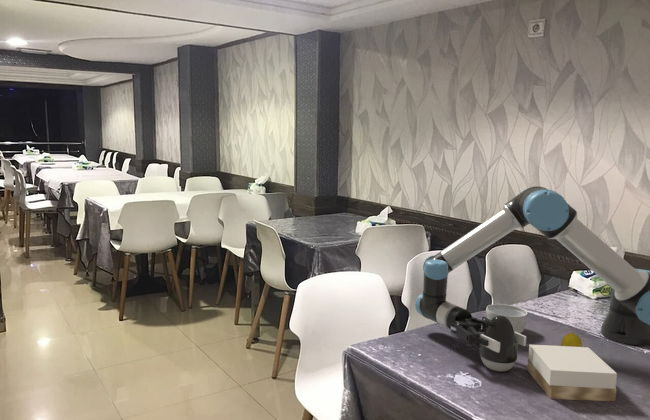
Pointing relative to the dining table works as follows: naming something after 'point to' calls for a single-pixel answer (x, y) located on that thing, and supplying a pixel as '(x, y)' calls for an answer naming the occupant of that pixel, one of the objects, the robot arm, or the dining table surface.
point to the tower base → (571, 389)
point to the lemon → (571, 340)
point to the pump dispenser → (506, 336)
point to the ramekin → (509, 315)
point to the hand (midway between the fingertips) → (512, 344)
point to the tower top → (571, 366)
